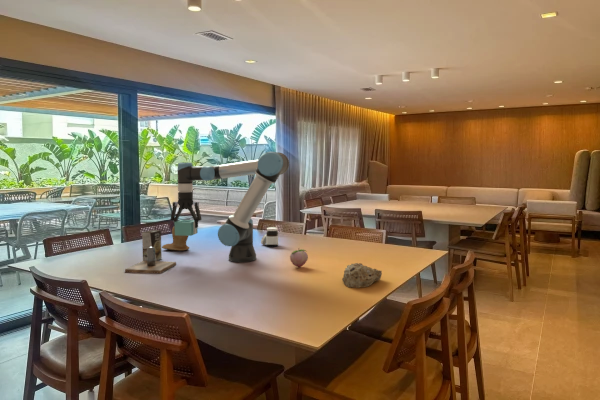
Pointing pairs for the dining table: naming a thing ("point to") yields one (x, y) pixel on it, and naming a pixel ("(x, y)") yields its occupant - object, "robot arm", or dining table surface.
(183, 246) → the brown piece
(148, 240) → the coffee box
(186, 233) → the teal hollow square block
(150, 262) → the post
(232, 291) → the dining table surface
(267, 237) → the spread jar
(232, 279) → the dining table surface
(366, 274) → the rock
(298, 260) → the decorative fruit
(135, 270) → the base plate
